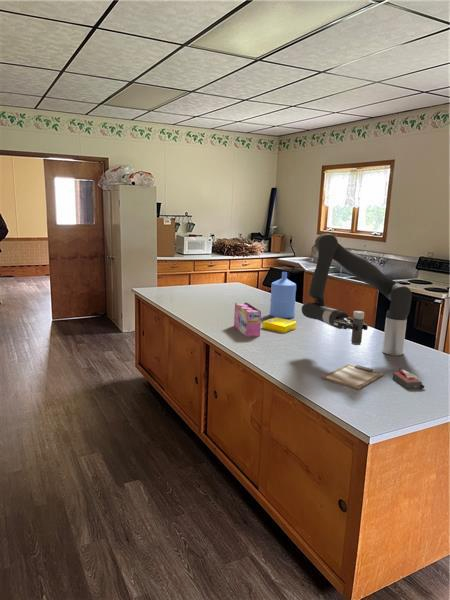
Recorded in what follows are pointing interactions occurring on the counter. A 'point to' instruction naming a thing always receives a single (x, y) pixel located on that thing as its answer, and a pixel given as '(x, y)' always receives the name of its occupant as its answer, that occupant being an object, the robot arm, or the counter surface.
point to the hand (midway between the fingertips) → (362, 328)
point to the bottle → (358, 320)
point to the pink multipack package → (247, 319)
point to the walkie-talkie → (407, 379)
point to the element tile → (279, 325)
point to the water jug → (283, 298)
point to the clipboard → (353, 376)
